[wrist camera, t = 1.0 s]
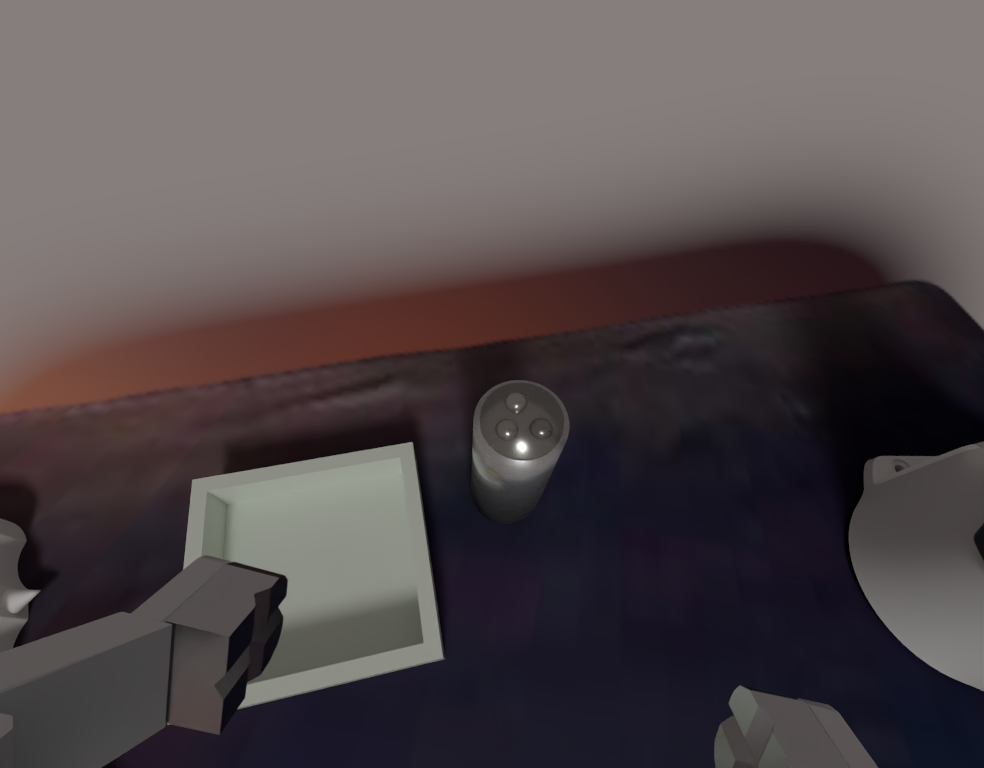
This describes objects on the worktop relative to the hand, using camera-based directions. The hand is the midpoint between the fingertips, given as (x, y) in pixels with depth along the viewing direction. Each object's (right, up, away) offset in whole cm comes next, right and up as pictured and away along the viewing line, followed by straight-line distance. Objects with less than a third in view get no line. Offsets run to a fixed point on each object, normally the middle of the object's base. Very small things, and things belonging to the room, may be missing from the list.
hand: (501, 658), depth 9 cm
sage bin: (-12, -8, +25) cm, 29 cm away
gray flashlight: (+1, -3, +29) cm, 29 cm away
